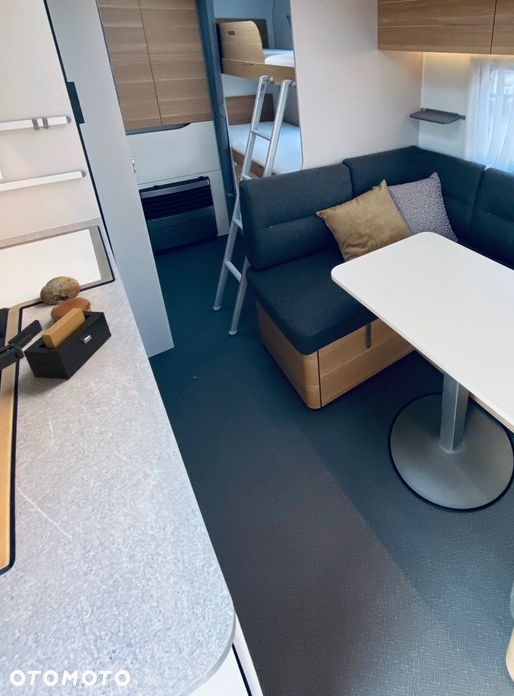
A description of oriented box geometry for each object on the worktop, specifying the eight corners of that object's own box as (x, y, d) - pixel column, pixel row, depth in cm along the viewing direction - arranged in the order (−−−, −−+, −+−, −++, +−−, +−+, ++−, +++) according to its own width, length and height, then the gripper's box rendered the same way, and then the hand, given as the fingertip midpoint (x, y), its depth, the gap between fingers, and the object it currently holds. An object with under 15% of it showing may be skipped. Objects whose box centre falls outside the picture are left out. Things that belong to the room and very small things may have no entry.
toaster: (34, 377, 98) (23, 351, 95) (80, 334, 112) (71, 310, 109) (71, 379, 98) (61, 353, 95) (113, 335, 112) (105, 311, 108)
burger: (87, 323, 116) (82, 310, 114) (49, 332, 113) (43, 318, 112) (96, 303, 125) (91, 290, 123) (60, 311, 122) (55, 298, 120)
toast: (53, 365, 100) (41, 334, 96) (83, 336, 109) (73, 307, 105) (62, 365, 100) (49, 335, 96) (91, 337, 109) (81, 308, 105)
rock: (48, 316, 125) (43, 301, 120) (37, 292, 129) (31, 277, 124) (85, 301, 132) (82, 286, 127) (74, 279, 136) (70, 264, 131)
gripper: (-161, 421, 70) (-37, 334, 90) (-28, 430, 69) (69, 339, 88) (-185, 389, 68) (-52, 307, 87) (-46, 397, 66) (58, 311, 85)
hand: (9, 323), depth 88 cm, fingers open, 13 cm apart
